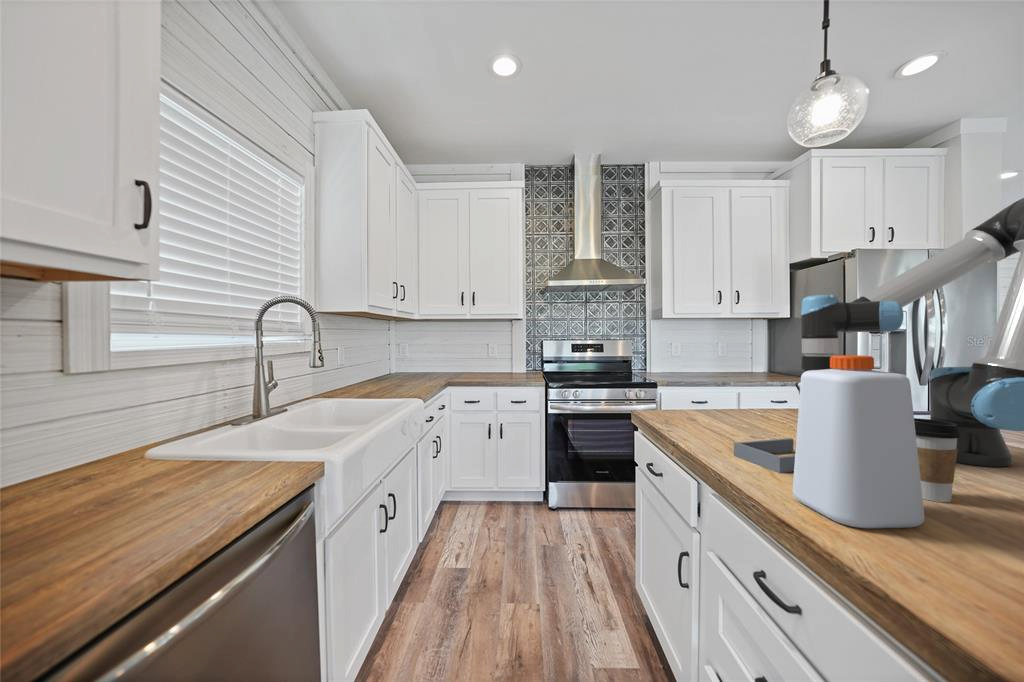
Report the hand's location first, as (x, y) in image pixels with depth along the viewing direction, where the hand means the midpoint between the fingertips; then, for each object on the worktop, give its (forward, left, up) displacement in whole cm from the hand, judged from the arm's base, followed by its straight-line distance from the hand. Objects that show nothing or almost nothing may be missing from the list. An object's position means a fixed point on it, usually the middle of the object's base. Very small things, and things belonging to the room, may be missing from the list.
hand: (819, 446), depth 102 cm
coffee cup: (+4, +25, -3) cm, 25 cm away
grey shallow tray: (+11, 0, -3) cm, 11 cm away
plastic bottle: (+24, +27, -3) cm, 36 cm away
